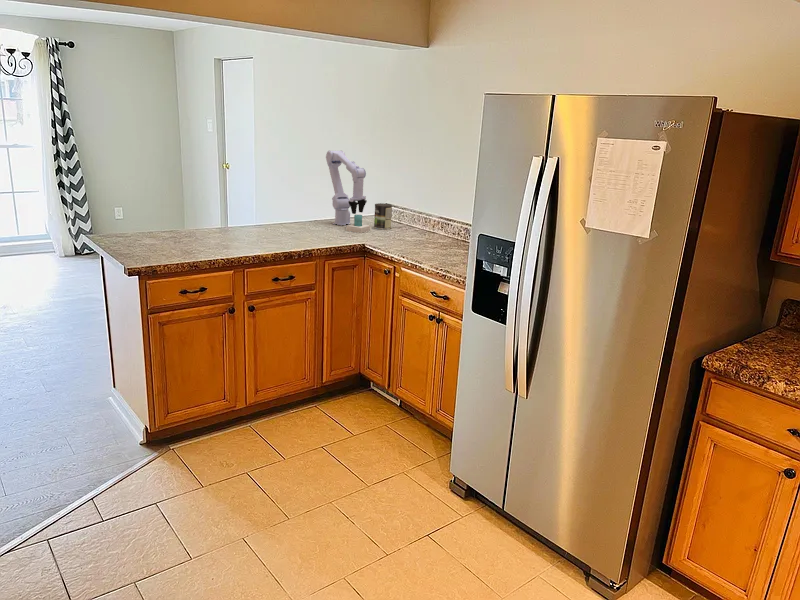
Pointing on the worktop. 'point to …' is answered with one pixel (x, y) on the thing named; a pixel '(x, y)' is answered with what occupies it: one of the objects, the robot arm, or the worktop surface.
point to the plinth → (357, 228)
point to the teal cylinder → (357, 220)
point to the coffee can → (382, 216)
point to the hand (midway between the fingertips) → (357, 213)
